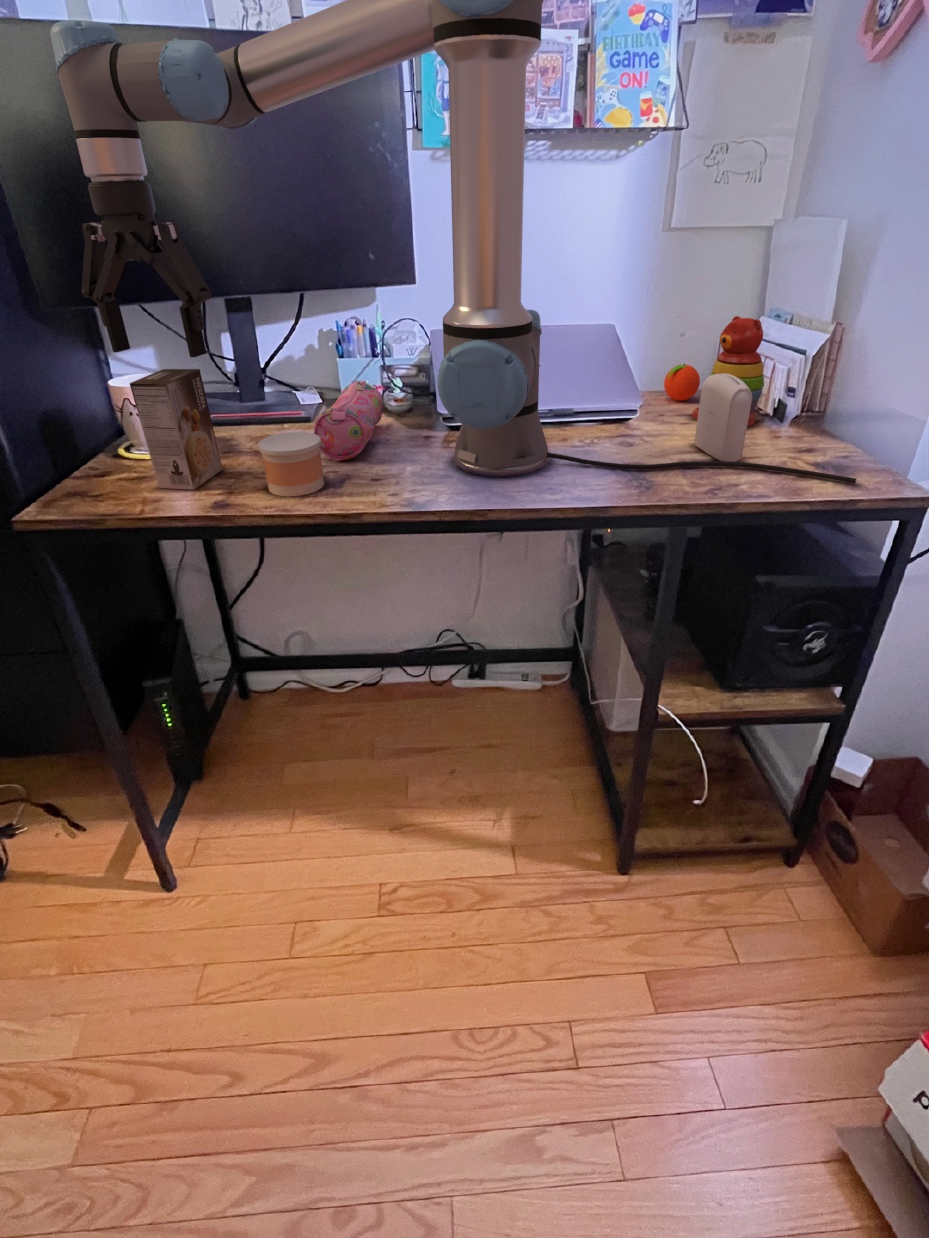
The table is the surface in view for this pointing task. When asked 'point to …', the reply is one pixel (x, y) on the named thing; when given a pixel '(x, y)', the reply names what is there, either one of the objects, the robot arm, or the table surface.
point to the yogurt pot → (292, 463)
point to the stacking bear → (742, 357)
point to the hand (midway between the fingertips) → (159, 353)
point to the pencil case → (349, 421)
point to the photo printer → (723, 417)
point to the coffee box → (177, 427)
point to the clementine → (681, 382)
